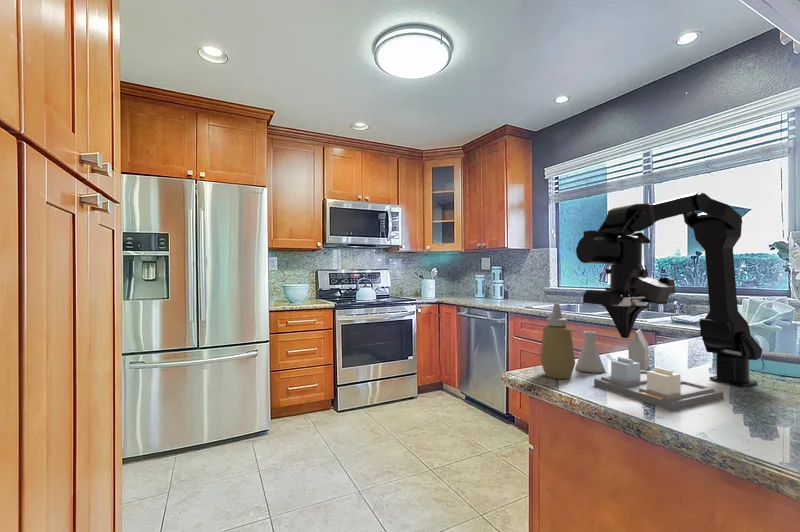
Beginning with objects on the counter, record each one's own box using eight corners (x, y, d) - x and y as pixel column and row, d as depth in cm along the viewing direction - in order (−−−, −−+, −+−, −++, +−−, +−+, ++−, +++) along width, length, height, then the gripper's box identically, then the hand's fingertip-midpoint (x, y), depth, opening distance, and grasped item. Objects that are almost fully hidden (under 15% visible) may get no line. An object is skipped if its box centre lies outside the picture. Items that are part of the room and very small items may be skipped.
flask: (598, 366, 103) (598, 329, 103) (610, 374, 95) (610, 334, 96) (571, 366, 103) (570, 329, 103) (581, 373, 96) (580, 334, 96)
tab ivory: (660, 388, 78) (659, 365, 78) (680, 394, 75) (680, 370, 75) (647, 391, 77) (646, 367, 77) (667, 397, 73) (666, 372, 73)
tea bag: (648, 366, 102) (648, 329, 102) (645, 372, 97) (644, 333, 97) (632, 364, 104) (632, 328, 104) (628, 369, 99) (628, 331, 99)
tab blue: (623, 376, 87) (623, 355, 87) (640, 381, 83) (640, 359, 84) (611, 378, 86) (611, 357, 86) (627, 383, 82) (627, 361, 82)
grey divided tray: (642, 377, 92) (642, 368, 92) (723, 399, 77) (723, 388, 77) (594, 385, 86) (594, 376, 86) (671, 411, 71) (671, 399, 71)
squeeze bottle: (533, 375, 95) (532, 303, 95) (552, 370, 100) (551, 301, 100) (564, 383, 88) (563, 306, 89) (582, 376, 93) (581, 304, 93)
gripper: (631, 262, 69) (630, 347, 69) (694, 265, 77) (694, 342, 76) (581, 263, 80) (580, 337, 80) (641, 265, 87) (640, 333, 87)
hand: (624, 337), depth 80 cm, fingers closed
